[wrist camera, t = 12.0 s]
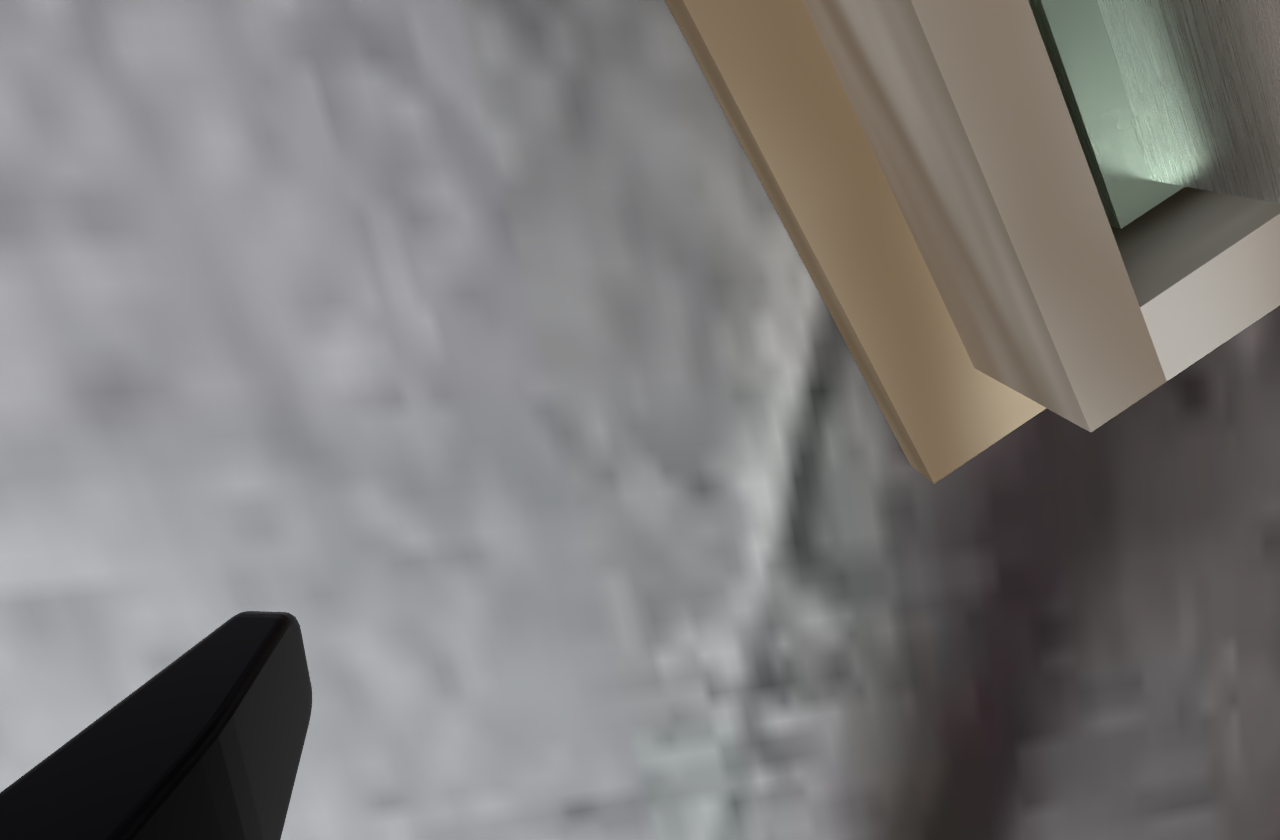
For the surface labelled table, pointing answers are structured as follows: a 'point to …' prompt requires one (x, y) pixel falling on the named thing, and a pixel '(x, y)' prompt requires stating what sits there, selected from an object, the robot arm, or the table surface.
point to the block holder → (970, 217)
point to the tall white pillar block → (1169, 95)
